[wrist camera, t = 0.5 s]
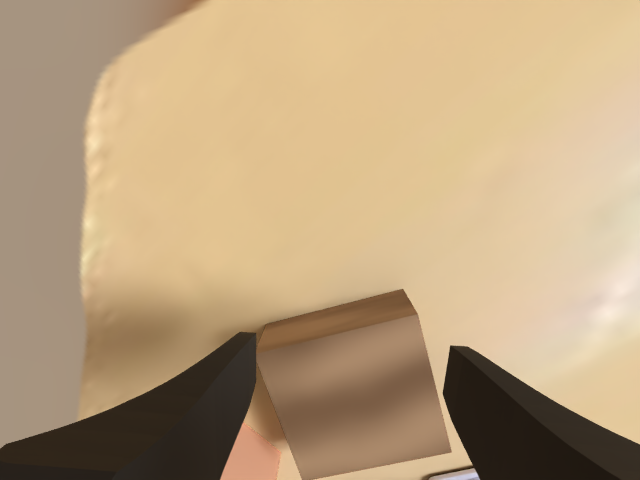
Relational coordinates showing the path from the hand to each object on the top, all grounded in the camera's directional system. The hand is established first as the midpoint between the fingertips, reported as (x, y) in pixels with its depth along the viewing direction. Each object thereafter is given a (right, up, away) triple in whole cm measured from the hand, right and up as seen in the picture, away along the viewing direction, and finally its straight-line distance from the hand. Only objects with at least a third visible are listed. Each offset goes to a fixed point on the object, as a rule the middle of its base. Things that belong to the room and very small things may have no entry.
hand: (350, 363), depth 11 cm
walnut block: (+1, -5, +12) cm, 13 cm away
